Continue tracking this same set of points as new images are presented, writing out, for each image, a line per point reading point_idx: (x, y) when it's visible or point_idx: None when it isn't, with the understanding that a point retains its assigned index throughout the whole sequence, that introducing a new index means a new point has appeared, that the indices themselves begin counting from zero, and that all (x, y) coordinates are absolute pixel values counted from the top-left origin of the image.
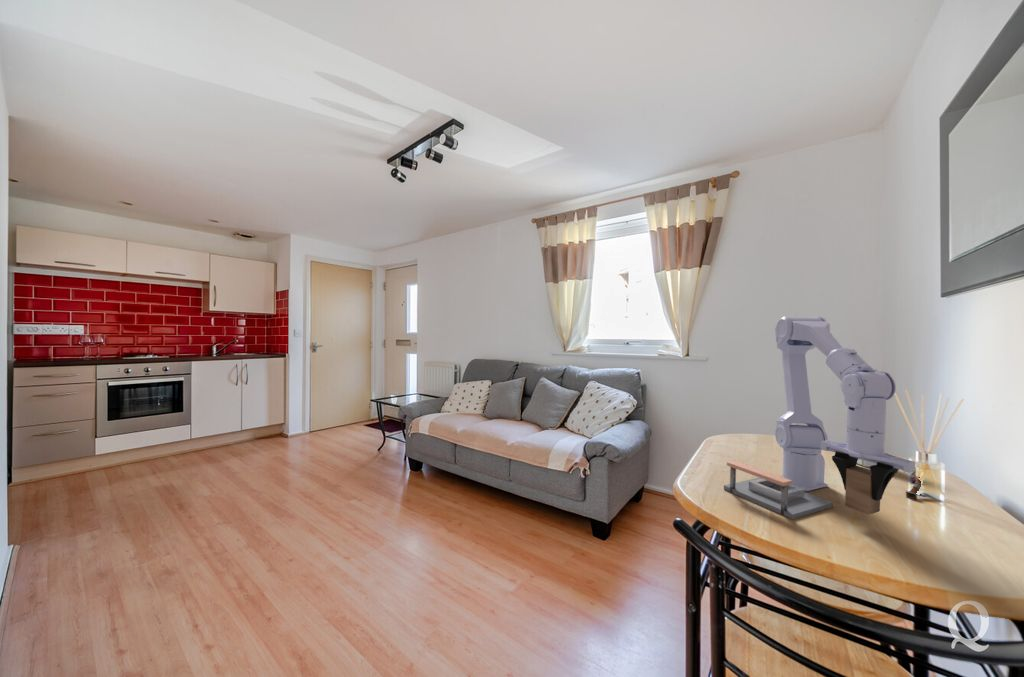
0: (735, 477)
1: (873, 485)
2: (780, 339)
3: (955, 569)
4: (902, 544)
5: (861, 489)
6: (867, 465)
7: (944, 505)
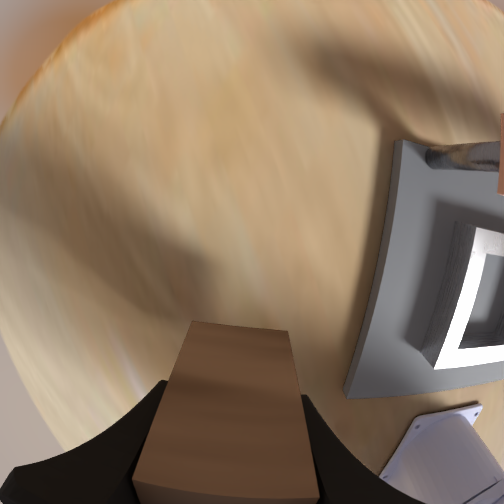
0: None
1: (143, 429)
2: None
3: (24, 246)
4: (119, 288)
5: (211, 396)
6: None
7: None
